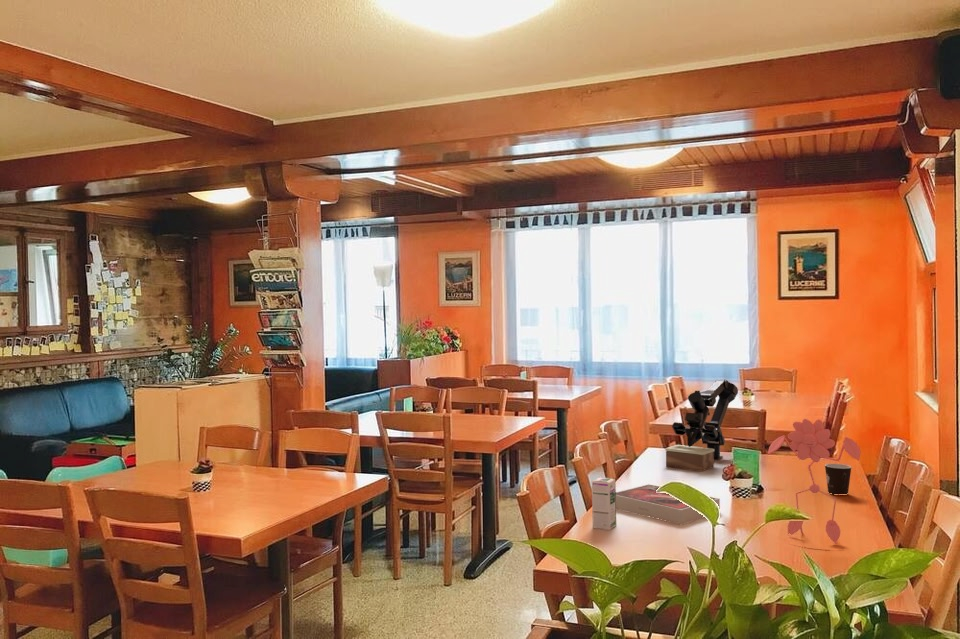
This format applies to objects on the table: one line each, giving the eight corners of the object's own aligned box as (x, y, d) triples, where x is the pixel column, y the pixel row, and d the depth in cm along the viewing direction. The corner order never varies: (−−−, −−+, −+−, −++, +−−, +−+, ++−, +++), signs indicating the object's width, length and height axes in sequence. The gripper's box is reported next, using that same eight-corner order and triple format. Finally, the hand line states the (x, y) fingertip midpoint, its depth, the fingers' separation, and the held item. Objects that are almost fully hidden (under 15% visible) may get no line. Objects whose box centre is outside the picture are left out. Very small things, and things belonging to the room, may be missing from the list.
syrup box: (610, 530, 226) (610, 482, 226) (591, 527, 229) (591, 480, 229) (616, 525, 231) (616, 478, 231) (598, 523, 234) (598, 476, 233)
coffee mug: (826, 489, 277) (826, 462, 276) (852, 492, 272) (852, 465, 272) (822, 496, 267) (822, 468, 266) (849, 499, 262) (849, 470, 262)
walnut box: (678, 462, 329) (678, 447, 329) (713, 466, 319) (713, 451, 319) (666, 466, 320) (666, 451, 320) (702, 471, 310) (702, 455, 310)
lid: (677, 446, 330) (677, 444, 330) (714, 451, 319) (714, 448, 319) (665, 450, 320) (665, 448, 320) (702, 455, 310) (702, 452, 310)
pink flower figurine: (774, 526, 229) (773, 412, 228) (866, 544, 212) (866, 420, 211) (754, 539, 217) (753, 418, 216) (850, 558, 200) (850, 427, 199)
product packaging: (648, 498, 267) (648, 484, 267) (719, 513, 246) (719, 498, 246) (609, 508, 253) (609, 493, 253) (681, 526, 232) (681, 510, 232)
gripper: (673, 403, 329) (662, 432, 320) (715, 407, 317) (704, 436, 308) (681, 419, 335) (670, 448, 327) (722, 423, 323) (712, 453, 315)
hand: (688, 446), depth 319 cm, fingers closed
